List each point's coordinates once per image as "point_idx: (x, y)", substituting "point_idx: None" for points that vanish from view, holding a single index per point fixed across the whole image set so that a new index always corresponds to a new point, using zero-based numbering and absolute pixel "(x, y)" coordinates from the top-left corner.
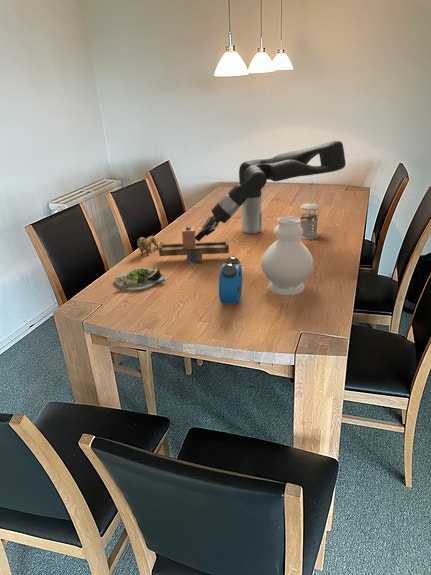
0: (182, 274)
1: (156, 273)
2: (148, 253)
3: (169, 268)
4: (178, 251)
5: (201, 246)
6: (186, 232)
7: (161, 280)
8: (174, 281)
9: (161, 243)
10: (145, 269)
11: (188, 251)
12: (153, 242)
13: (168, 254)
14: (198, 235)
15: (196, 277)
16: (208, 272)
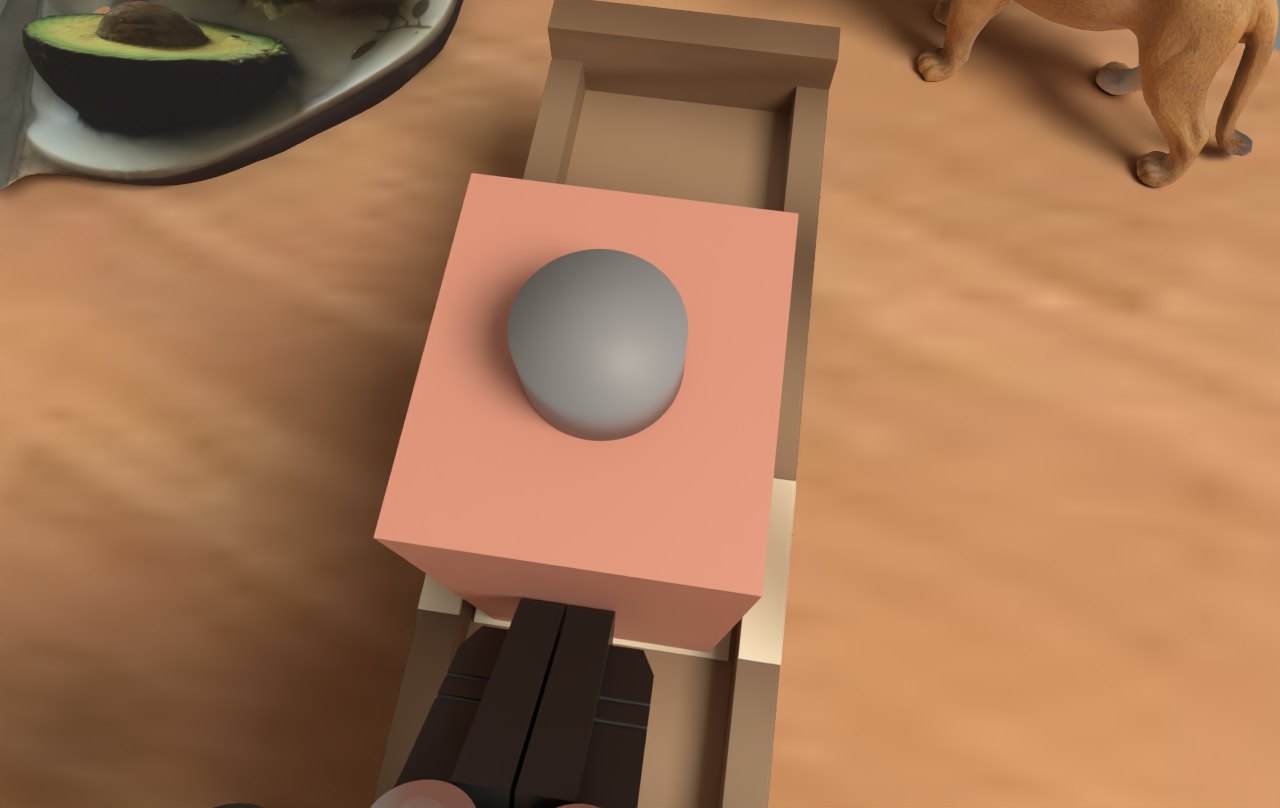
0: (192, 402)
1: (28, 49)
2: (950, 60)
3: None
4: None
5: (656, 770)
6: (453, 305)
7: (8, 140)
8: (36, 296)
9: (766, 40)
10: (421, 13)
11: None
12: (1144, 46)
13: None
14: (489, 690)
15: (8, 568)
16: (86, 772)
